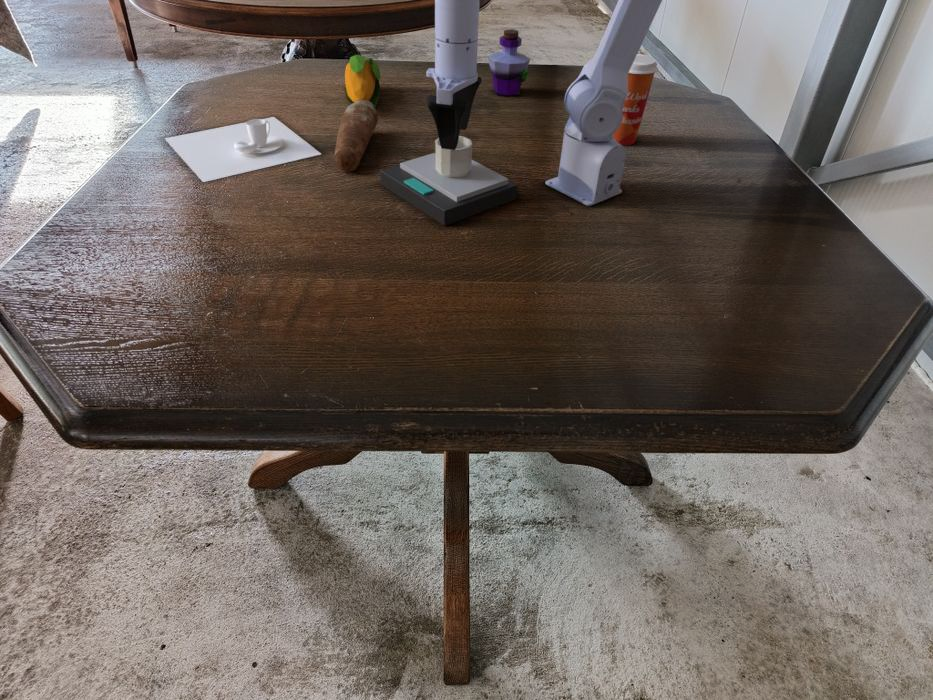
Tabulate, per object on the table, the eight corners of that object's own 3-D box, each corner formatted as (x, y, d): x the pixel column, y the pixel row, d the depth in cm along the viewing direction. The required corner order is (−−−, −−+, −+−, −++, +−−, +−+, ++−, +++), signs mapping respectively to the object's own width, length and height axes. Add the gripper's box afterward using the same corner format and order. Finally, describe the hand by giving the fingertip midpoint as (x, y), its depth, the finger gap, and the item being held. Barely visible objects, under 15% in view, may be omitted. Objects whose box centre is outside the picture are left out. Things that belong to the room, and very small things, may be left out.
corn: (377, 45, 128) (379, 76, 113) (382, 84, 133) (384, 118, 118) (341, 48, 128) (338, 80, 113) (347, 86, 133) (345, 122, 118)
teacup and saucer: (241, 160, 102) (236, 136, 100) (224, 144, 107) (219, 120, 105) (291, 149, 107) (288, 125, 104) (273, 133, 111) (269, 110, 109)
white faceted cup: (476, 167, 96) (477, 139, 93) (462, 181, 92) (463, 152, 89) (444, 160, 98) (444, 132, 95) (429, 174, 94) (429, 145, 91)
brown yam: (379, 130, 114) (378, 99, 111) (362, 176, 100) (359, 142, 96) (345, 128, 114) (342, 97, 111) (322, 174, 100) (318, 139, 96)
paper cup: (597, 144, 113) (611, 62, 104) (600, 129, 119) (614, 50, 110) (641, 150, 112) (659, 67, 103) (642, 134, 117) (660, 55, 108)
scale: (516, 199, 96) (518, 179, 94) (444, 226, 89) (444, 205, 86) (450, 163, 105) (451, 144, 103) (381, 185, 98) (380, 165, 96)
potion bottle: (527, 100, 129) (533, 37, 122) (486, 98, 130) (489, 35, 122) (526, 86, 136) (532, 26, 128) (486, 84, 136) (490, 24, 128)
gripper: (439, 22, 89) (438, 117, 98) (413, 50, 78) (415, 154, 87) (488, 26, 88) (483, 122, 97) (468, 55, 77) (464, 160, 86)
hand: (454, 138), depth 92 cm, fingers open, 7 cm apart
